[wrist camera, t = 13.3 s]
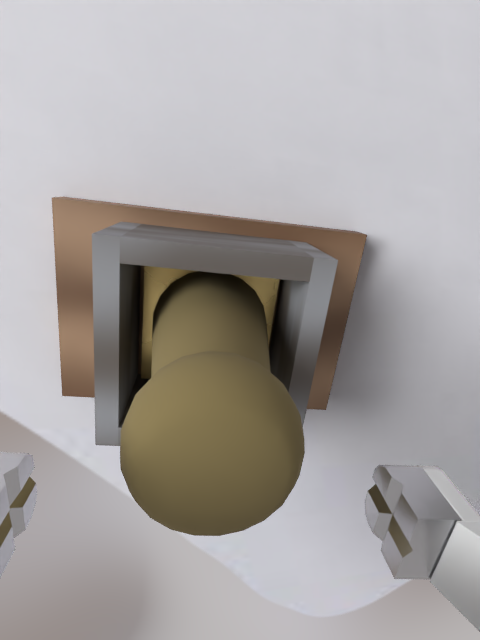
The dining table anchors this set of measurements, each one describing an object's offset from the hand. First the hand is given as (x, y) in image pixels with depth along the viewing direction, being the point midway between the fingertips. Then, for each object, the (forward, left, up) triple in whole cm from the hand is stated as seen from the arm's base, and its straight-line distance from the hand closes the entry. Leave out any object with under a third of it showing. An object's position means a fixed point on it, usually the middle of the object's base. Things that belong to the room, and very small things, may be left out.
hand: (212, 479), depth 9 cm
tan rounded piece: (0, 0, -11) cm, 11 cm away
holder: (0, 0, -14) cm, 14 cm away
